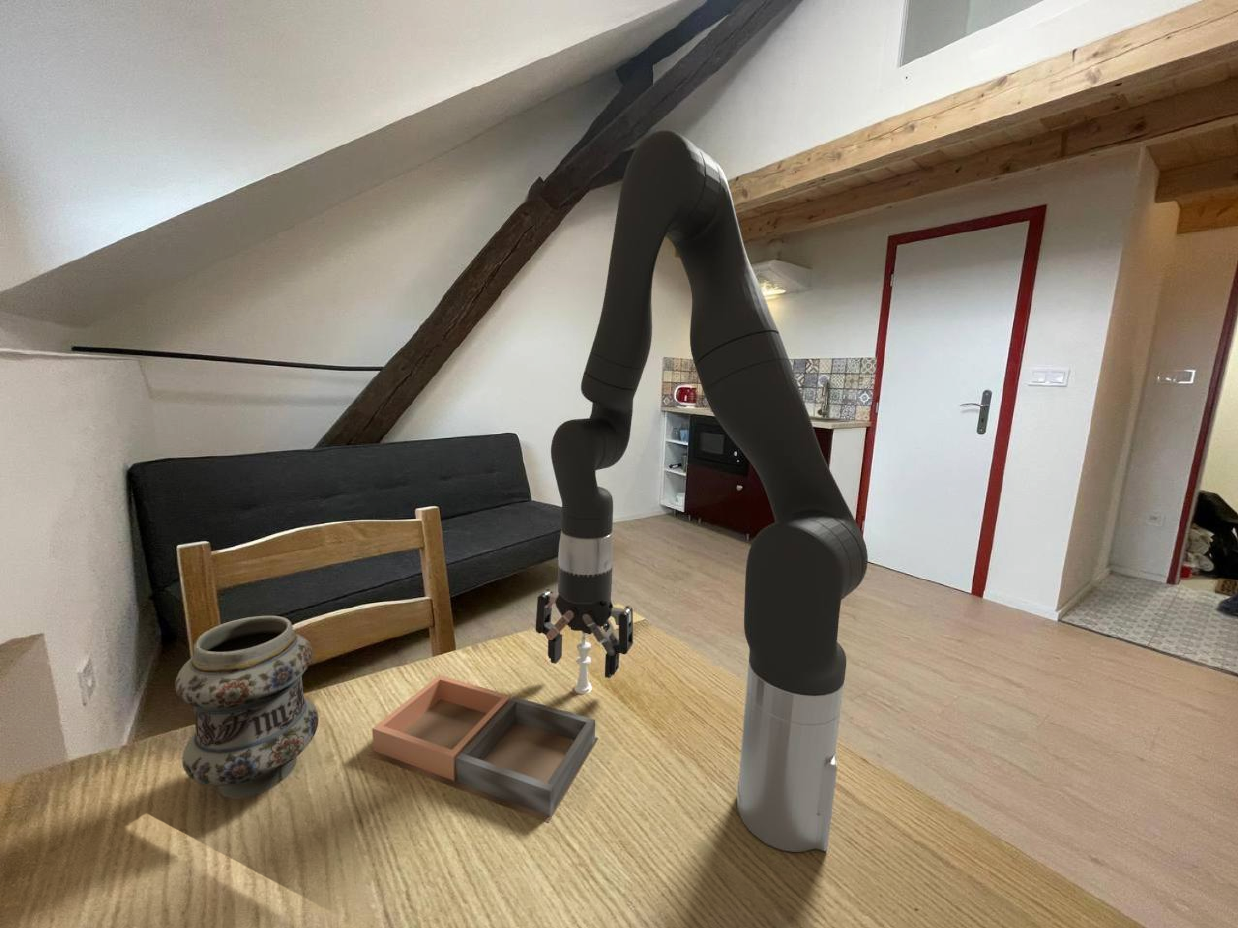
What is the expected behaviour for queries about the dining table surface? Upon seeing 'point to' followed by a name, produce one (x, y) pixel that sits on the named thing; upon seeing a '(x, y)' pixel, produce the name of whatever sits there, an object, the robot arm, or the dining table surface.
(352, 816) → the dining table surface
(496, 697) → the orange square tray
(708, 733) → the dining table surface
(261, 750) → the apothecary jar
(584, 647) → the chess piece
